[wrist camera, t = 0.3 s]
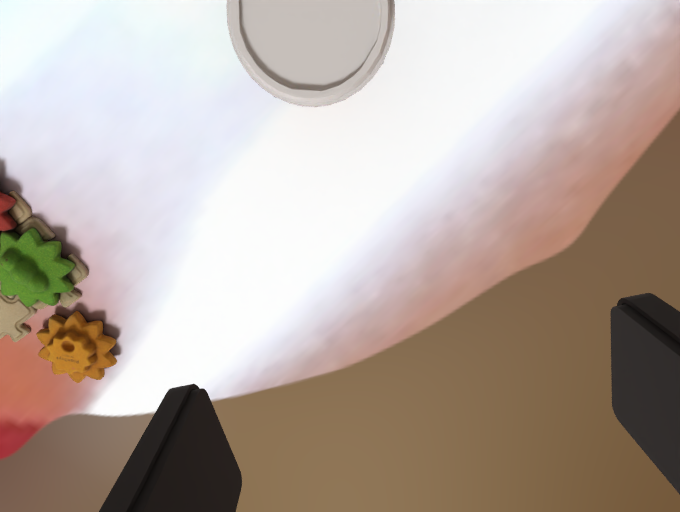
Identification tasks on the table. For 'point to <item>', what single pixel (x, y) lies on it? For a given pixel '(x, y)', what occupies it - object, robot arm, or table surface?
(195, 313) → the table surface
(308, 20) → the disposable coffee cup
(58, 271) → the gear puzzle
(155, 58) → the table surface
